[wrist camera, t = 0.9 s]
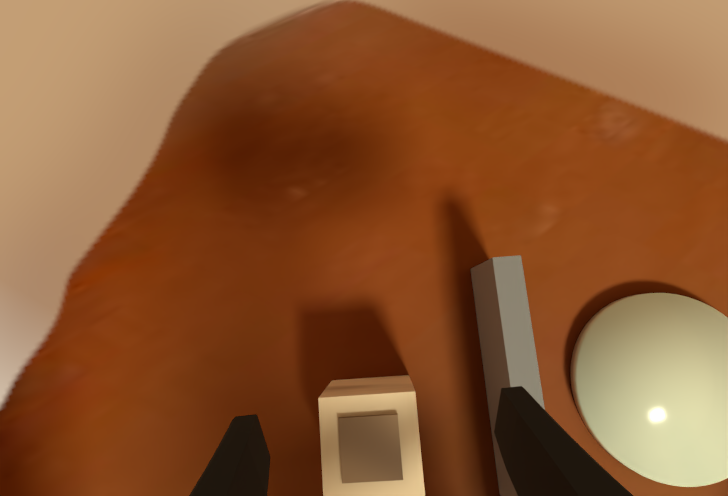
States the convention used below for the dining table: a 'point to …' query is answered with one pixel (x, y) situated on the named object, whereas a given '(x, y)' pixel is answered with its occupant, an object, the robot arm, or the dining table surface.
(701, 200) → the dining table surface
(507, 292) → the grey rectangular bar
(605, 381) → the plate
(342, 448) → the cube
